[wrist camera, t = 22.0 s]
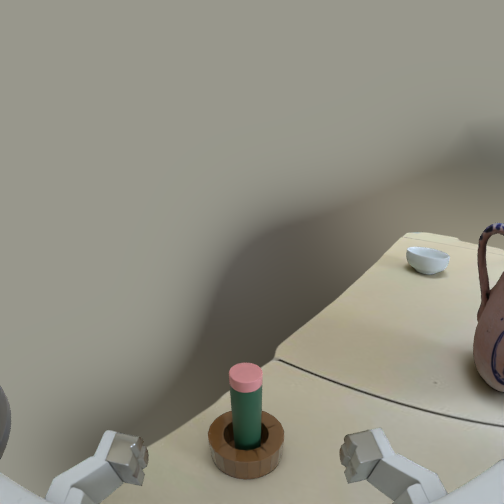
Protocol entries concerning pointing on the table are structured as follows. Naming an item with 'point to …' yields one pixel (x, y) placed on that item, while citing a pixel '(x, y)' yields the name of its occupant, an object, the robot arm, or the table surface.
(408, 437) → the table surface
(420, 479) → the robot arm
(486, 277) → the ceramic pitcher
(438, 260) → the cereal bowl
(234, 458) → the brown hollow cylinder
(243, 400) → the pink-capped green cylinder
